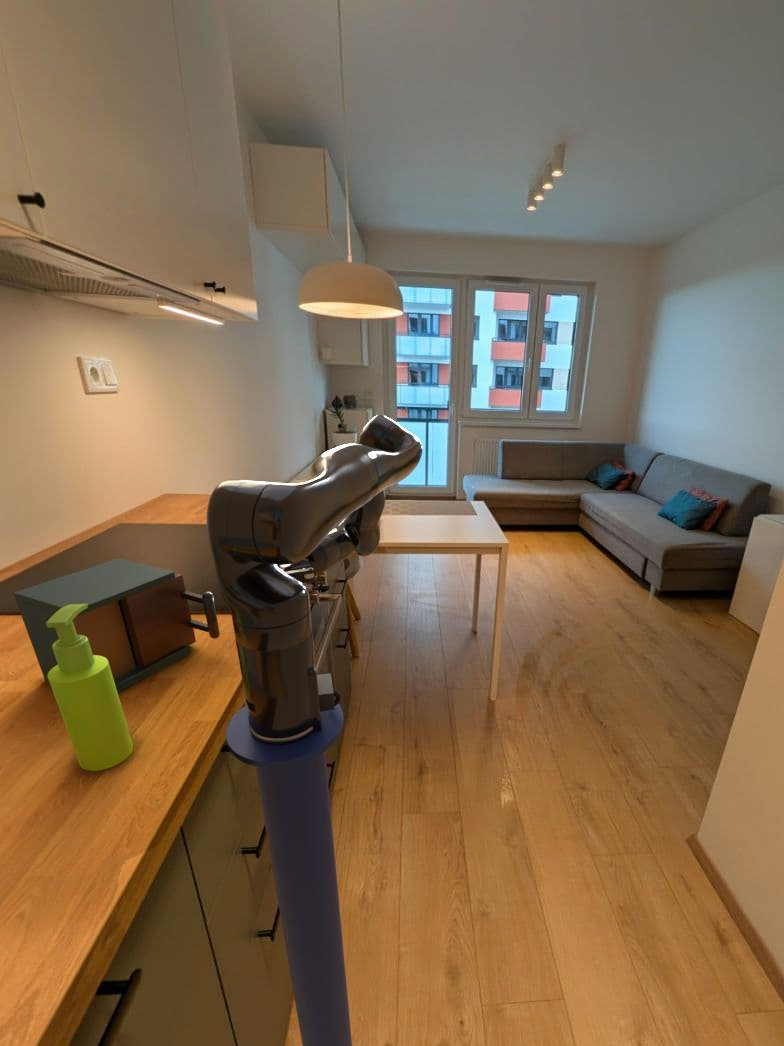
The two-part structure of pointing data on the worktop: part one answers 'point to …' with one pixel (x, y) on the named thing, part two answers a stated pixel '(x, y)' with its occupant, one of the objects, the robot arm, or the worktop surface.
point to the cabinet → (94, 615)
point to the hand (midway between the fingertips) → (255, 585)
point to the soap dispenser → (87, 696)
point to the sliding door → (165, 620)
